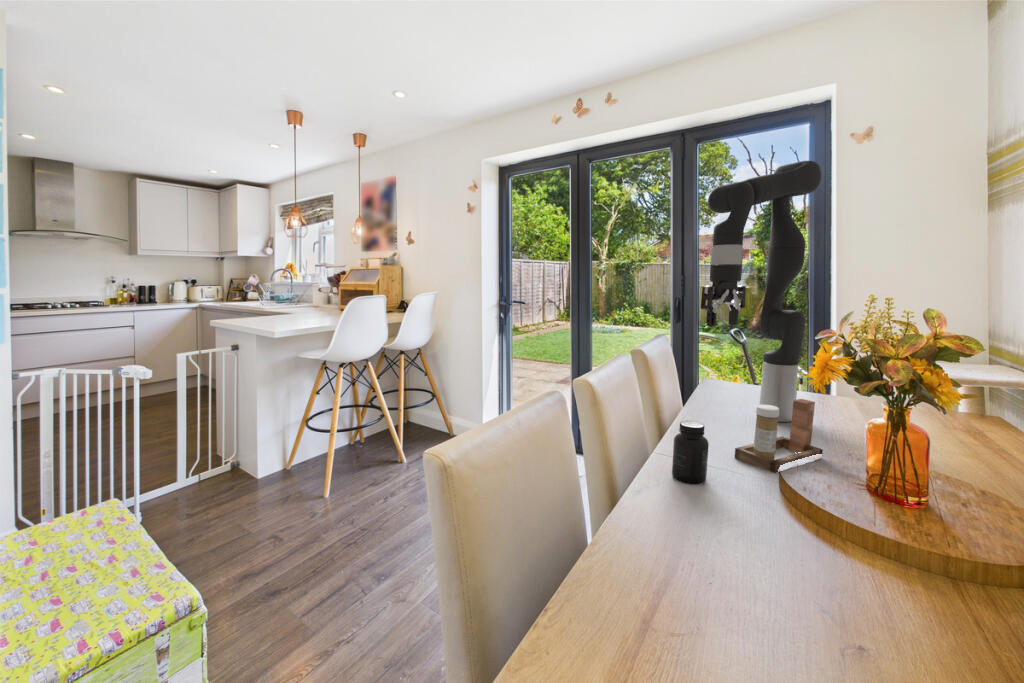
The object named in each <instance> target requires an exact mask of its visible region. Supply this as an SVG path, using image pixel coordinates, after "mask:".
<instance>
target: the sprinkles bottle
mask: <svg viewBox="0 0 1024 683" xmlns="http://www.w3.org/2000/svg"><path fill="white" fill-rule="evenodd" d="M755 410H756V411H755V413H756V420H755V421H756V422H755V432H754V436H753V437H754V438H753V439H754V440H753V444H754V453H755V454H758V455H761V456H763V457H766V458H769V459H772V460H775V454H776V450H777V449H776V438H778V417H779V408H778V407H775V406H772V405H759V404H758V405H756V409H755ZM775 449H776V450H775Z"/></svg>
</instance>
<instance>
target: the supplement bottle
mask: <svg viewBox="0 0 1024 683" xmlns="http://www.w3.org/2000/svg"><path fill="white" fill-rule="evenodd" d="M678 430H679V431H678V432H679V433H677V434H676V435H675V436H674V437H673V446H672V447H673V448H672V449H673V450H672V451H673V452H672V465H671V467H672V468H671V476H672V478H674V479H675V480H676V481H678V482H679V483H683V484H687V485H694V486H695V485H696V486H697V485H702V484H703V483H705V482H706V481H707V473H708V461H709V460H708V458H709V446H710V445H709V440H708V438H707V437H705V436H704V435H705V425H704V423H702V422H699V421H694V420H683V421H680V423H679V428H678Z"/></svg>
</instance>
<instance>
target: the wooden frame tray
mask: <svg viewBox="0 0 1024 683" xmlns="http://www.w3.org/2000/svg"><path fill="white" fill-rule="evenodd" d="M815 405H816V401H813V400H808V399H804V398H799V399H796V400H794V401H793V411H792V421H790V422H791V423H790V424H791V425H790V436H789V438H788V437H785V436H777V438H776V449H775V451H776V450H780V449H785V450H788V452H790V453H793V454H790V455H787V456H783V457H780V458H777V459H774V460H772V459H769V458H766V457H763V456H761V455H758V454H755V453H754V443H750V444H747V445H742V446H738V447H735V448H734V459H737V460H739V461H742V462H744V463H746V464H749V465H752V466H754V467H757V468H759V469H762V470H764V471H767V472H770V473H771V474H778V473H779V472H778V469H779V467H780V465H783V464H785V463H788V462H792V461H795V460H798V459H802V458H805V457H809V456H812V455H816V454H822V455H823V453H824V452H823V451H824V449H823V448H820V447H817V446H813V445H812V438H813V437H812V435H813V424H814V414H815ZM795 452H796V453H797V454H795ZM798 452H801V453H798Z"/></svg>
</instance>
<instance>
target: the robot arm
mask: <svg viewBox="0 0 1024 683" xmlns="http://www.w3.org/2000/svg"><path fill="white" fill-rule="evenodd" d="M821 170H822V169H821V167H820V165H819V164H818V163H817V162H816V161H814V160H802V161H798V162H793V163H789V164H788V163H787V164H784V165H780V166H778V167H777V168H775V170H774V172H773V173H770V174H765V175H758V176H754V177H750V178H748V179H745V180H741V181H736V182H732V183H727V184H722V185H718V186H716V187H715V188H713V189H712V190H711V192H710V193H709V194H708V199H707V205H708V207H709V209H710V210H711V211H712V212H714V213H716V214H726V213H727V214H728V213H729V215H728V217H727V219H725V220H723V221H721V222H718V223H716V224H715V225H714V227H713V233H712V234H713V235H712V236H713V237H712V247H711V248H712V249H711V253H710V266H709V281H710V282H712V284H711V285H703V286H702V289H701V290H702V292H701V297H700V298H701V300H700V310H704V311H705V312H706V321H705V323H706V326H707V327H716V325H717V324H716V323H717V322H716V321H717V310H718V308H719V306H721V305H722V304H726V305H727V306H728V309H729V312H728V325H730V326H731V325H732V326H737V325H738V324H739V322H738V321H739V313H740V311H741V310H742V309H745V308H746V295H747V294H746V292H747V286H745V285H738V282H739V283H740V282H741V281H742V277H743V276H742V274H743V263H744V262H743V259H744V250H743V245H744V243H743V242H744V233H745V232H744V231H745V227H746V223H747V221H748V218H749V216H750V213H751V210H752V207H753V206H756V205H757V206H758V205H761V204H764V203H767V202H770V201H771V222H770V235H769V245H768V253H767V268H766V269H767V271H766V280H765V283H766V284H765V289H764V290H765V291H764V295H763V296H764V297H763V302H762V307H761V312H760V317H759V332H760V335H761V336H762V337H763V338H765V339H767V340H774V341H781V345H780V347H779V348H776V349H775V350H774V349H773V350H768V351H766V352H764V354H763V358H762V368H761V369H762V370H761V371H762V372H761V383H760V394H759V395H760V397H759V404H758V405H772V406H775V407H778V408H779V417H778V422H779V423H789V422H792V411H793V401H794V400H797V395H798V388H797V384H798V373H799V371H798V370H799V361H800V357H801V356H802V349H803V342H804V337H805V330H806V319H805V315H804V314H803V312H801V311H799V310H791V309H782V302H783V298H784V295H785V293H786V292H787V289H788V288H789V286H790V285H791V284H792V283H793V282H794V280H795V279H796V278H797V276H798V275H799V273H800V272H801V271H802V270H803V269H802V268H803V267H804V263H805V255H806V254H805V253H806V240H805V237H804V235H803V233H802V231H801V230H800V228H799V227H798V225H797V224H796V221H794V219H793V216H792V213H791V198H792V197H798V196H804V195H808V194H811V193H813V192H815V191H816V190H817V189H818V187H819V185H820V184H821V181H822V171H821ZM778 422H777V423H778Z"/></svg>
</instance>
